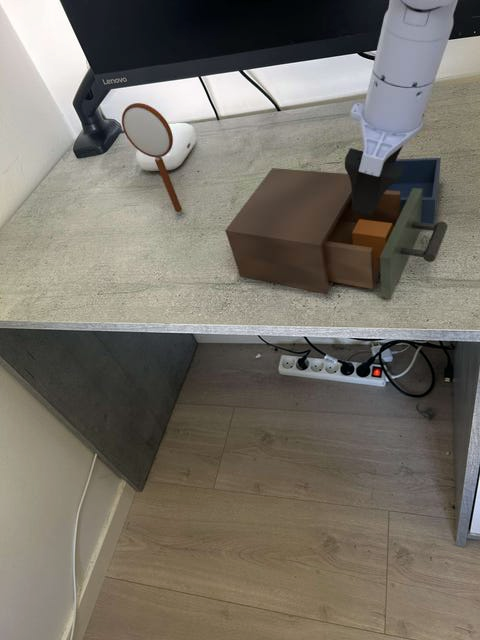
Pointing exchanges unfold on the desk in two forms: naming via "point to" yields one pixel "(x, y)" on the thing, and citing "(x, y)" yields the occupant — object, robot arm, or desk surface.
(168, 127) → the magnifying glass
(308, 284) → the cabinet
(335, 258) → the drawer
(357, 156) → the robot arm
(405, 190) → the open box
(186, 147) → the earbud case
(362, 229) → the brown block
